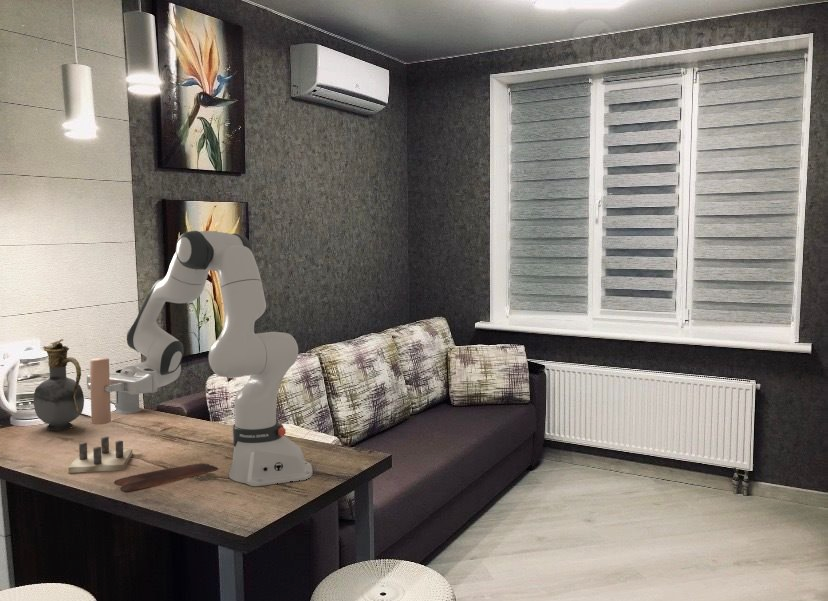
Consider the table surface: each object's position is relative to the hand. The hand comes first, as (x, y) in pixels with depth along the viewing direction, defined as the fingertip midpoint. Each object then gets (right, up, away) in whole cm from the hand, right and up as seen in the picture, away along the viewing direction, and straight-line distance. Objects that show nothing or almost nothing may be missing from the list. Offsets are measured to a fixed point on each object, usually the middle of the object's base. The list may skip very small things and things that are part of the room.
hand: (97, 388), depth 194 cm
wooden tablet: (+22, -24, -7) cm, 33 cm away
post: (0, -10, +2) cm, 10 cm away
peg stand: (0, -22, +3) cm, 22 cm away
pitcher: (-28, -18, +35) cm, 49 cm away
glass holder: (-18, -16, +57) cm, 62 cm away
